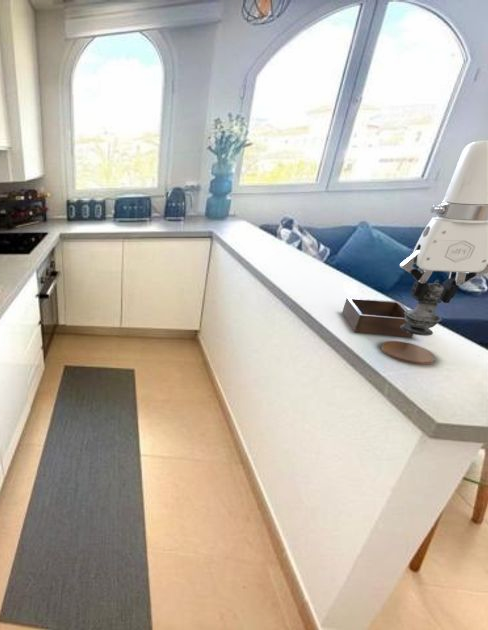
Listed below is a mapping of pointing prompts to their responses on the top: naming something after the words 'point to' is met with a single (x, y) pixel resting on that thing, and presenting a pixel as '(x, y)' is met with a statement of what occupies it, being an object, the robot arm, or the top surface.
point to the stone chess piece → (424, 312)
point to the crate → (376, 317)
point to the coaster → (408, 352)
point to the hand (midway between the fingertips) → (429, 298)
